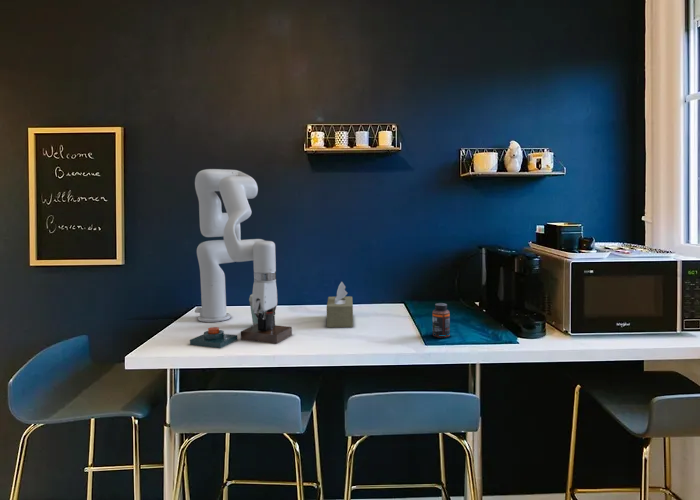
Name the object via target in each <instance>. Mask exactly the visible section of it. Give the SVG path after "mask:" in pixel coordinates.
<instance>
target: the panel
mask: <svg viewBox="0 0 700 500" xmlns="http://www.w3.org/2000/svg"><path fill="white" fill-rule="evenodd" d="M291 336H293V327H292V326H287V325H286V326H285V325H277V324H275V326H274V329H272V330H268V331H259V330H258V324H256V325H254V326H253V325H251V326H249V327H247V328H245V329H242V330H241V331H240V340H241V341H249V342H257V343H267V344H279V343H281V342H282V341H284V340H286V339H288V338H289V337H291Z"/></svg>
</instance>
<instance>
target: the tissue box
mask: <svg viewBox="0 0 700 500" xmlns="http://www.w3.org/2000/svg"><path fill="white" fill-rule="evenodd" d="M346 288H347V287H346V285H345V284H344V282H343V281H340V283H339V285H338V287H337V290H336V295H335V296H328V297H327V302H326V328H353V327H354V304H353V296H351V295H349V296H347V295H348V292H347V290H346Z"/></svg>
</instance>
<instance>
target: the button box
mask: <svg viewBox="0 0 700 500" xmlns="http://www.w3.org/2000/svg"><path fill="white" fill-rule="evenodd" d="M236 341H238V335H237V334H229V333H225V331H224V330H222V329H219V333H217V334H208V330H205V331H204V332H203V333H202V334H201V335H198V336H196V337H194V338H191V339H189V345H190V346H197V347H205V348H206V347H207V348H215V349H222V348H223V347H227V346H228V345H231V344H232V343H234V342H236Z"/></svg>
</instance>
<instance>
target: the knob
mask: <svg viewBox="0 0 700 500" xmlns="http://www.w3.org/2000/svg"><path fill="white" fill-rule="evenodd" d="M262 315H263V312H262ZM265 319H267V331H268V330H272V329H274V326H273V312H266V318H265Z"/></svg>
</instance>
